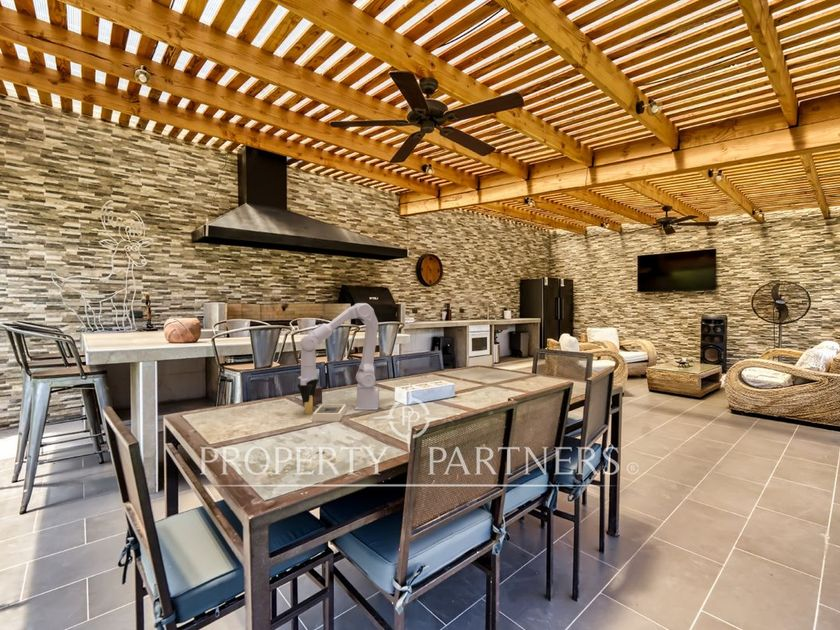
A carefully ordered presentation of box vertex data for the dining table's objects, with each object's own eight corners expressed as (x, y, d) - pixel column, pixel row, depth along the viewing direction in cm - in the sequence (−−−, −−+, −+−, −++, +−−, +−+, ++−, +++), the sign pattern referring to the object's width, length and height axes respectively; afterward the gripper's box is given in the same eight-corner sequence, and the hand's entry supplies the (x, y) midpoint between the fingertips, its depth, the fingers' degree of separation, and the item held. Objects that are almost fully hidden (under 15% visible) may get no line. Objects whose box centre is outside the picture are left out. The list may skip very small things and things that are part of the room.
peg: (313, 412, 163) (313, 395, 163) (311, 414, 160) (311, 397, 160) (306, 412, 163) (305, 395, 163) (303, 414, 160) (303, 396, 160)
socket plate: (342, 412, 162) (342, 407, 162) (338, 418, 154) (338, 412, 154) (322, 412, 162) (322, 407, 162) (317, 417, 154) (317, 412, 154)
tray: (346, 411, 165) (346, 404, 165) (339, 421, 151) (339, 413, 151) (321, 411, 165) (321, 404, 165) (312, 421, 151) (312, 413, 151)
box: (322, 403, 178) (322, 386, 177) (312, 406, 173) (312, 389, 172) (312, 401, 181) (312, 385, 181) (302, 404, 176) (302, 387, 176)
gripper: (303, 362, 168) (303, 395, 169) (292, 368, 154) (292, 404, 154) (320, 363, 168) (320, 395, 169) (311, 368, 154) (311, 404, 154)
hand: (308, 399), depth 162 cm, fingers open, 7 cm apart
